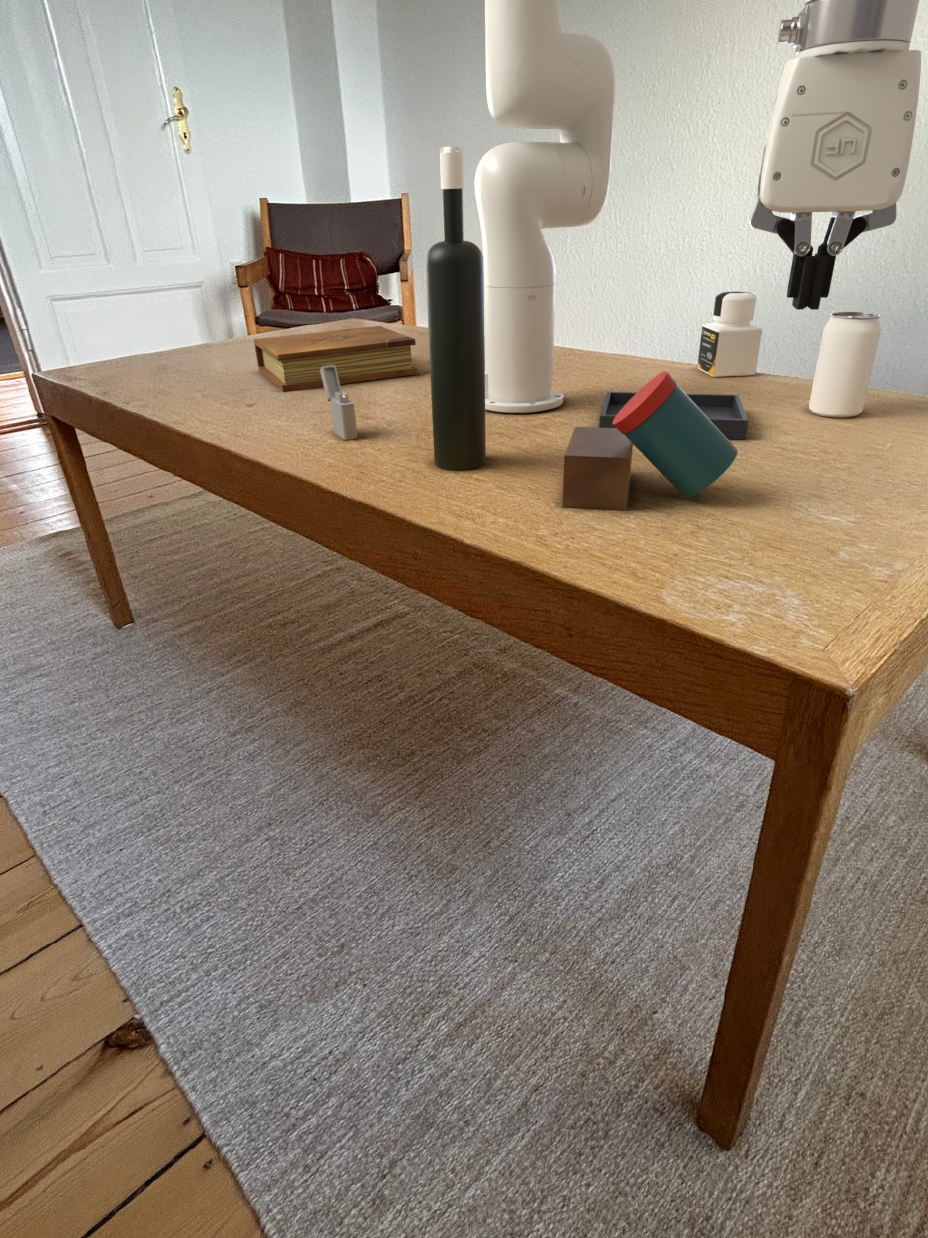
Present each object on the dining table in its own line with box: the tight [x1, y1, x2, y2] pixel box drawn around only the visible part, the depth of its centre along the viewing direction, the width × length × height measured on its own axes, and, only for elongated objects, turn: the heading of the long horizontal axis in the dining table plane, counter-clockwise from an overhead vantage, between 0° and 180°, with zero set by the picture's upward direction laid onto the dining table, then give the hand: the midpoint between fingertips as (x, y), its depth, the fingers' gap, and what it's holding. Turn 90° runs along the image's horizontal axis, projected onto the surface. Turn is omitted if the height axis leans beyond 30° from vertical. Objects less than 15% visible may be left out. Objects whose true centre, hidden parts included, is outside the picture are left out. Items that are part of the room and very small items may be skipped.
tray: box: [598, 391, 749, 441], centre depth 96 cm, size 17×13×2 cm
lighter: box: [320, 365, 359, 441], centre depth 94 cm, size 7×2×8 cm, turn 28°
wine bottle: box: [424, 145, 487, 471], centre depth 77 cm, size 6×6×30 cm
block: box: [561, 426, 634, 511], centre depth 74 cm, size 6×10×5 cm, turn 167°
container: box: [613, 370, 739, 498], centre depth 71 cm, size 12×7×12 cm, turn 77°
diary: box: [253, 325, 419, 392], centre depth 129 cm, size 23×19×6 cm
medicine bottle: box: [696, 290, 763, 378], centre depth 119 cm, size 7×7×12 cm
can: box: [808, 311, 882, 419], centre depth 96 cm, size 6×6×12 cm
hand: (805, 306), depth 63 cm, fingers closed
